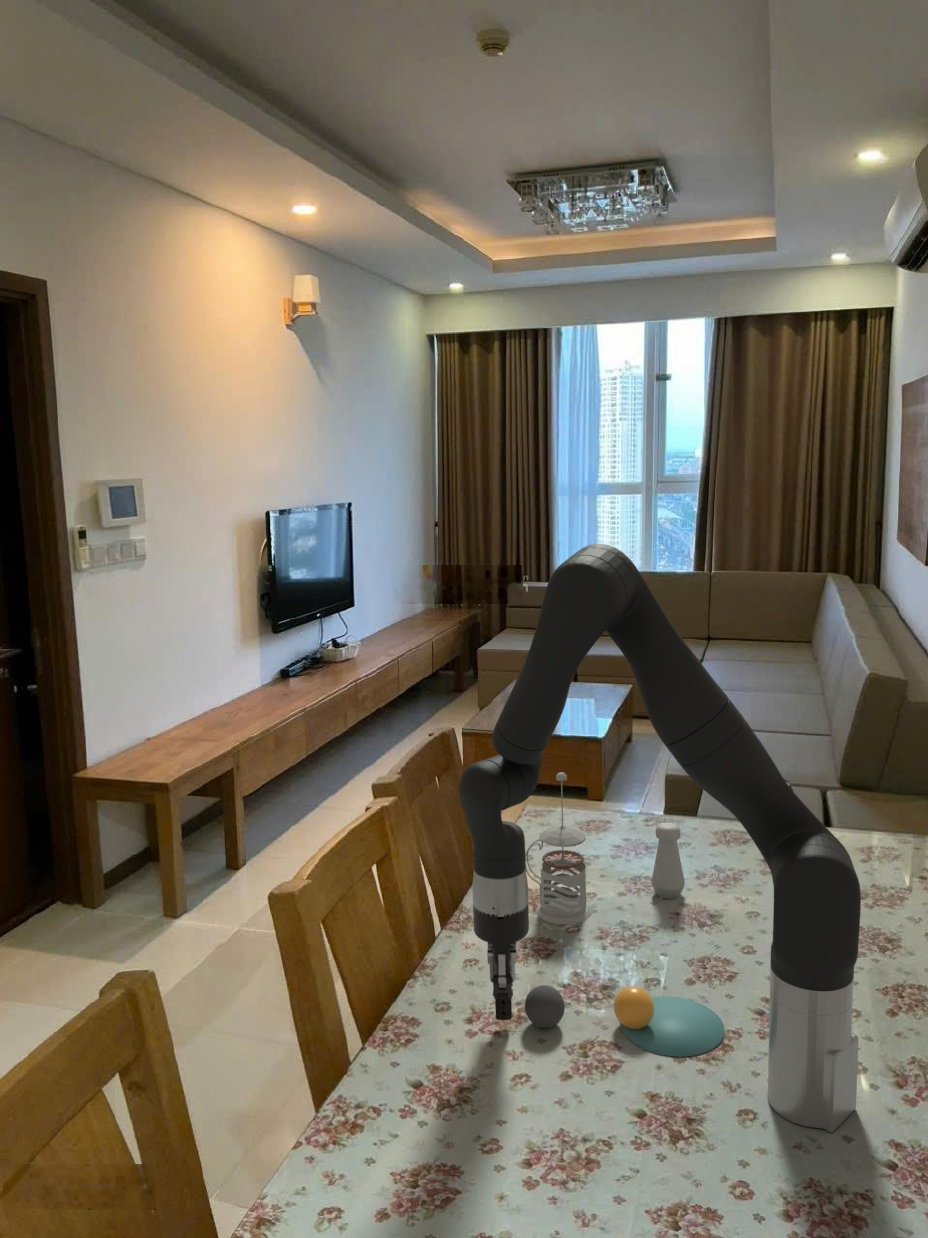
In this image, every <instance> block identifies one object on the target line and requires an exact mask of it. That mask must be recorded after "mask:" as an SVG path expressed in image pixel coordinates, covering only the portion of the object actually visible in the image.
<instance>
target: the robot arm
mask: <svg viewBox="0 0 928 1238" xmlns="http://www.w3.org/2000/svg"><path fill="white" fill-rule="evenodd" d="M604 632H606V634H608V636H609V638H611V639H610V640H612V641H613V642H614V644H615V646H617V648H618V649H619V650H620V652H621V653H622V654H623V656H624V658H625V660H626V661H627V663H628V664H629V667H630V669H631V671H632V673H633V676H634V679H635V682H636V684H637V687H638V690H639V694H640V697H641V699H642V703H643V705H644V709H645V711H646V713H647V716H648V719H649V721H650V723H651V726H652V727H653V729H654V731H655V733H656V735H657V736H658V737H659V739H660V740H661V742H662V743H663V744H664V746H665V747H666V748H667V750H668V751H669V752H670V753H671V755H672V756H673V758H674V759H675V760H676V762H677V763H678V764H679V766H680V767H681V769H683V771H684V772H685V774H687V775H688V776H689V777H690V778H691V780H692V781H694V783H696V784H697V786H699V787H700V788H701V789H703V791H704V792H705V793H707V794H708V795H709V796H710V797H711V798H713V799H714V800H715V801H717V802H718V803H719V804H721V805H722V807H724V808H726V810H728V811H729V813H731V814H732V815H733V816H734V817H735V818H736V820H737V821H739V823H740V824H741V826H742V827H743V828H744V830H745V831H746V832H747V834H748V835H749V836H750V839H751V840H752V841H753V843H754V844H755V846H756V848H757V849H758V851H759V852H760V854H761V855H762V857H763V859H764V860H765V863H766V865H767V867H768V868H769V870H770V873H771V877H772V885H773V913H772V914H773V917H772V918H773V919H772V921H773V925H772V942H771V945H770V969H769V970H770V971H769V973H770V974H769V1008H768V1010H769V1011H768V1015H769V1016H768V1020H769V1021H768V1057H767V1059H768V1060H767V1061H768V1062H767V1063H768V1064H767V1065H768V1066H767V1067H768V1068H767V1071H768V1072H767V1099H768V1102H769V1104H770V1106H771V1107H772V1109H773V1110H774V1111H775V1112H776V1113H778V1115H780V1116H781V1117H783V1119H786V1120H788V1121H789V1122H792V1123H794V1124H796V1125H799V1126H804V1127H807V1128H818V1129H823V1130H825V1131H827V1132H830V1133H833V1132H834V1131H836V1130H837V1128H839V1126H841V1124H842V1123H843V1122H844V1121H845V1120H846V1119H847V1118H848V1117H849V1116H850V1115H851V1114H852V1113H853V1112H855V1110H856V1109H857V1092H858V1091H857V1090H858V1064H859V1063H858V1061H859V1037H858V1035H857V1034H855V1033H854V1032H853V1033H852V1030H853V1029H852V1027H853V1026H852V1024H853V1001H854V1000H853V998H854V997H853V996H854V976H855V965H856V963H857V961H858V956H859V944H860V943H859V942H860V927H861V925H860V924H861V907H862V905H861V902H862V901H861V899H862V898H861V897H862V895H861V885H860V880H859V877H858V875H857V872H856V870H855V867H854V866H855V865H854V863H853V861H852V858H851V855H850V854H849V852H848V850H847V849H846V847H845V846H844V845H843V843H841V841H840V840H839V839H838V838H837V837H836V836H835V834H833V832H831V830H829V829H828V827H826V825H824V823H823V822H822V821H820V819H819V818H818V817H817V816H816V815H815V814H814V813H813V812H812V811H811V809H810V808H809V807H808V806H807V805H806V804H805V803H804V802H803V801H802V800H801V799H800V798H799V796H797V794H796V793H795V792H793V791H794V790H793V791H792V789H793V788H792V789H791V788H790V787H789V786H788V784H787V783H786V781H785V780H786V779H785V778H784V777H783V775H782V774H781V772H780V771H779V768H778V767H777V765H776V763H775V762H774V761H773V758H772V757H771V755H770V754H769V752H768V751H767V749H766V747H764V745H763V743H762V742H761V740H760V739H759V738H758V737H759V736H757V735H756V733H755V732H754V731H753V729H752V728H751V726H750V725H749V723H748V722H747V720H746V719H745V717H744V716H743V715H742V713H741V712H740V711H739V710H738V708H737V706H736V705H734V703H733V702H732V700H731V699H730V697H728V695H727V693H725V691H724V690H723V689H722V687H720V685H719V684H718V683H717V682H716V680H715V679H714V678H713V677H712V676H711V674H710V673H709V672H708V670H707V669H706V668H705V666H704V665H703V664H702V662H701V661H700V660H699V658H698V657H697V655H696V654H695V653H694V651H692V648H690V647H689V645H688V644H687V643H686V641H684V639H683V638H682V637H681V635H680V634H679V633H678V632H677V629H676V628H675V626H673V624H672V623H671V621H670V620H669V618H668V616H667V615H666V613H665V611H664V610H663V608H662V606H661V605H660V603H659V602H658V601H657V599H656V597H655V595H654V593H652V590H651V588H650V587H649V585H648V584H647V582H646V580H645V579H644V577H643V576H642V574H641V573H640V571H639V569H638V568H637V566H636V565H635V563H634V562H633V561H632V560H631V559H630V558H629V556H628V555H627V554H625V553H624V552H622V551H621V550H620V549H618V548H617V547H615V546H612V545H609V544H605V543H593V544H590V545H589V544H588V545H586V546H584V547H582V548H580V549H579V550H578V551H576V552H575V553H574V554H572V555H571V556H569V557H568V558H567V559H566V560H564V561H563V562H562V563H561V564H560V565H558V566H557V567H556V569H555V570H554V571H553V572H552V573H551V575H550V577H549V579H548V582H547V585H546V588H545V591H544V596H543V600H542V602H541V607H540V610H539V615H538V619H537V623H536V627H535V630H534V634H533V637H532V641H531V644H530V646H529V650H528V652H527V655H526V657H525V660H524V663H523V665H522V668H521V669H520V672H519V674H518V676H517V679H516V681H515V683H514V685H513V687H512V689H511V690H510V693H509V695H508V697H507V699H506V701H505V703H504V706H503V708H502V710H501V712H500V714H499V716H498V718H497V720H496V723H495V724H494V725H495V726H494V728H493V731H492V737H491V742H492V747H494V750H495V751H496V753H498V754H497V755H494V756H492V757H489V758H486V759H483V760H479V761H477V762H474V763H471V764H469V765H468V766H467V767H466V768H465V769H464V770H463V772H462V774H461V776H460V779H459V784H458V796H459V797H458V798H459V800H460V801H459V802H460V804H461V808H462V810H463V813H464V817H465V820H466V824H467V827H468V831H469V833H470V836H471V840H472V854H473V856H472V857H473V859H472V860H473V874H472V875H473V877H472V911H473V914H472V915H473V932H474V935H475V936H476V937H478V939H480V940H481V941H483V942H486V943H487V951H486V952H487V955H486V957H487V964H488V965H489V980H490V982H491V983H492V985H493V986H492V987H493V989H492V996H493V999H494V1000H495V1018H496V1020H498V1021H509V1020H511V1019H512V1018H513V1012H512V1011H513V1009H512V999H513V996H514V988H513V986H514V983H515V981H516V964H517V961H518V960H517V942H519V941H521V940H522V939H524V938H525V937H526V936H527V935H528V933H529V931H530V919H529V916H530V915H529V913H530V912H529V910H530V909H529V884H528V877H527V875H528V874H527V872H526V868H527V864H526V863H527V862H526V863H525V853H526V840H525V839H526V838H525V834H524V833H525V832H524V831H523V829H522V828H521V826H520V825H518V824H517V823H514V822H512V821H509V820H508V821H505V820H502V819H503V818H502V812H503V811H505V810H507V809H509V808H512V807H515V806H518V805H520V804H521V803H524V802H525V801H526V800H527V799H528V798H530V797H531V795H532V794H533V792H535V790H536V788H537V786H538V783H539V780H540V774H541V770H542V769H541V768H542V764H543V758H544V757H543V756H544V751H545V749H546V748H547V745H548V744H549V742H550V740H551V738H552V736H553V733H554V731H555V730H556V728H557V726H558V724H559V722H560V720H561V717H562V715H563V711H564V710H565V706H566V703H567V699H568V695H569V691H570V688H571V683H572V682H573V680H574V677H575V674H576V673H577V671H578V669H579V667H580V666H581V663H582V662H583V660H584V659H585V657H586V656H587V655H588V654H589V652H590V651H591V649H593V648H592V647H594V645H595V644H596V642H597V641H598V640H599V639H600V638H601V637H602V635H603V634H604ZM784 779H785V780H784Z"/></svg>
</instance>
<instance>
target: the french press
mask: <svg viewBox="0 0 928 1238" xmlns="http://www.w3.org/2000/svg"><path fill="white" fill-rule="evenodd" d="M555 780H556V781H557V782H558V781H559V782H560V791H561V792H560V793H561V795H560V798H561V799H560V801H561V802H560V803H561V824H558V825H552V826H549V827H547V828H545V829H543V830H542V831H541V832H540V833H539V837H538V838H539V839H537V840H534V841H532V843H531V844H530V845H529V847H528V848H527V849H526V850H525V863H527V864H526V865H527V867H526V875H528V877H529V878H530V879H531V880H532V881H534V882H536V883H537V884H538V885H539V898H540V899H539V901H540V902H539V904H538V905H537V906H536V908H535V914H536V915H537V916H538V917H539V918H540V919H541V920H543V921H545V922H547V923H551V924H556V925H573V924H579V923H582V922H584V921H586V920H588V919H589V918H590V917H591V916H592V915H593V909H592V907H590V905H589V904H588V903H587V880H586V879H587V877H586V876H587V874H586V873H587V871H586V868H587V867H586V864H585V863H584V860H585V859H584V858H585V857H584V855H582V854H581V853H580V852H577V851H575V850H569V849H567V850H566V849H565V850H564V848H569V847H576V846H580V845H581V844H583V843H584V842H585V841H586V839H587V833H585V831H583V830H581V829H579V828H578V827H575V826H572V825H569V824H564V809H563V808H564V805H563V803H564V801H563V798H564V797H563V794H564V793H563V781H567V780H568V775H567V774H566V773H565V772H564V771H563V772H561V771H560V772H558V773H557V774H556V775H555ZM539 842H540V843H541V844H540V843H539ZM544 844H546V845H549V846H553V847H559V848H562V849H556V850H555V849H554V850H551V851H547V852H546V853H544V854H543V855H542V860H541V861H542V864H541V865H542V866H541V868H540V876H539V875H537V874H536V873H535V872H534V871H533V870H532V868H531V866H530V862H529V852H530V849H532V848H533V847H534V846H536V845H538V849H539V850H538V851H542V849H543V847H544ZM528 869H529V871H530V872H531V874H533V876H534V877H536V878H538V879H539V880H540V882H539V881H538V880H536V879H534V878H533V877H532V876H531V874H530V872H529V871H528ZM573 869H575V870H576V871H578V872H579V873H577V872H575V870H573ZM559 871H565V872H569V873H571V874H569V873H564V872H561V873H557V874H555V872H559ZM552 882H553V883H552ZM559 885H562V886H559ZM578 886H579V887H578ZM573 889H574V890H573Z"/></svg>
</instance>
